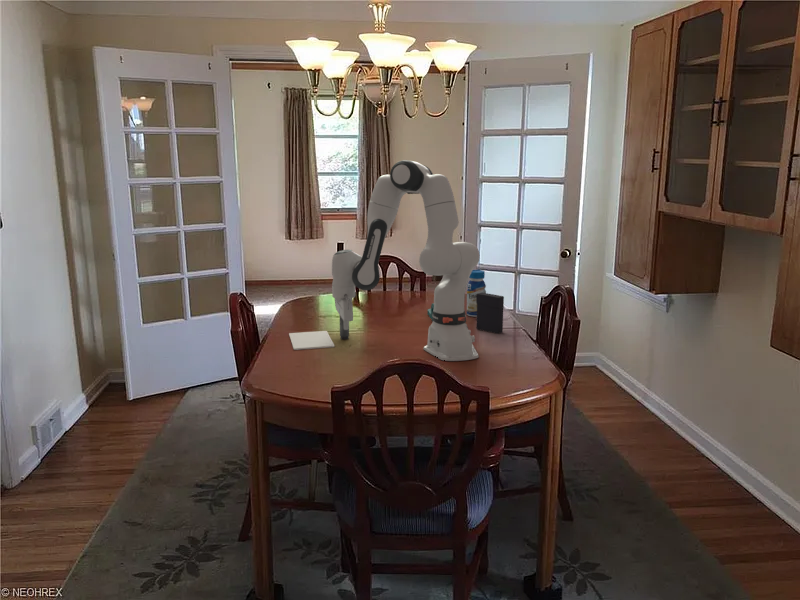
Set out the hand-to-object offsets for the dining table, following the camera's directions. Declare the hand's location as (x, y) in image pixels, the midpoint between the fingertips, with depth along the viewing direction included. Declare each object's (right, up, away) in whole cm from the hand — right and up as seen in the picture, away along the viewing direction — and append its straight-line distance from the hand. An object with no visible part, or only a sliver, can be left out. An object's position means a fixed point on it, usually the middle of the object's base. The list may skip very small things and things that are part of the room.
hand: (344, 327), depth 247 cm
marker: (0, -4, +1) cm, 4 cm away
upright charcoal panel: (+58, -2, +12) cm, 59 cm away
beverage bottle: (+55, +4, +38) cm, 67 cm away
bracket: (+38, +2, +34) cm, 51 cm away
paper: (-13, -5, -2) cm, 14 cm away
